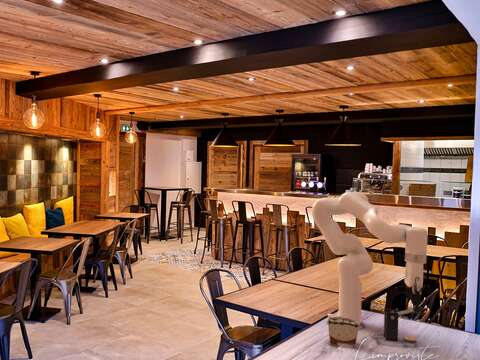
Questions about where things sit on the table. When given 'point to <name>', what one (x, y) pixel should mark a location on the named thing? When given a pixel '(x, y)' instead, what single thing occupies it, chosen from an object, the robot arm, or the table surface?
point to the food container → (342, 330)
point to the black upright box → (390, 325)
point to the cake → (409, 339)
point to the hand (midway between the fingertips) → (413, 300)
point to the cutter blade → (411, 310)
